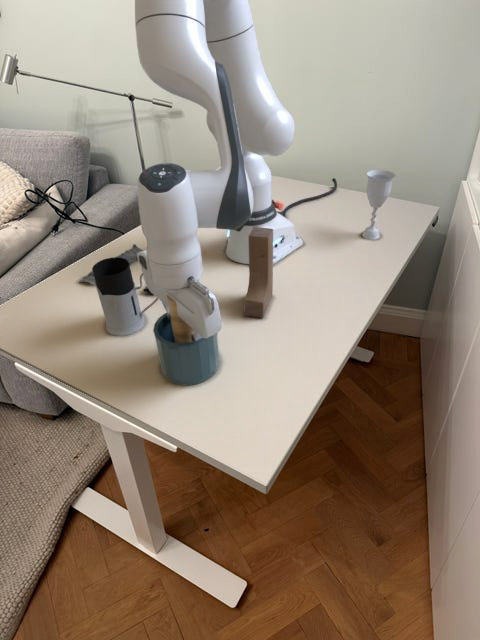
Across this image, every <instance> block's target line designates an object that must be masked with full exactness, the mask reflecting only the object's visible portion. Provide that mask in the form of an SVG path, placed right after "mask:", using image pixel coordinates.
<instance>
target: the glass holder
mask: <svg viewBox="0 0 480 640" xmlns="http://www.w3.org/2000/svg"><path fill="white" fill-rule="evenodd" d="M91 271H93V274H94V278H95V284H94V285H95V288H96V292H97V295H98V298H99V302H100V305H101V309H102V311H103V315H104V319H105V330H106V331H107V333H108V334H111V335H112V336H115V337H124V336H125V337H126V336H130V335H133V334H135V333H137V332H139V331H140V330H141V329H142V328H143V327H144V325H145V323H146V319H145V317H144V315H143V314H144V313H145V312H146V311H148V310H149V309H150V308H151V307H152V306H154V305H155V304H156V303H157V302H158V301H159V299H158V298H157V297H155V299H154V300H153V301H152V302H151V303H150V304H148V305H147V306H146V307H145V308H144V309H143V310H141V306H140V301H139V297H138V292H137V290H141V289H142V287H143V277H144V276H143V272H142V273H141V274H140V276H139V286H136V283H135V281H134V278H133V273H132V269H131V264H130V263H129V262H128V260H126V259H124V258H119V257H117V256H113V257H108V258H104V259H101V260H99V261H98V262H96V263H95V264H94V265H93V266H92V269H91Z"/></svg>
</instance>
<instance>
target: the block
mask: <svg viewBox="0 0 480 640" xmlns="http://www.w3.org/2000/svg"><path fill="white" fill-rule="evenodd" d="M143 292H144V293H147V294H149V295H153V294H152V293H151V292H150V291H149V289H148V287H147V285H146V286H145V287H144V288H143Z"/></svg>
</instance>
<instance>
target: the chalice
mask: <svg viewBox="0 0 480 640" xmlns="http://www.w3.org/2000/svg"><path fill="white" fill-rule="evenodd" d="M366 176H367V178H368V179H367V184H366V196H367V200H368V203H369V205H370V208H372V209H373V210H372V212H371V218H370V219H369V220H370V225H369V226H366V228H365V229H364V230H363V233H361V236H362V238H364V239H367V240H374V241H375V240H378V239H380V237H381V234H380V231H379V228H378V227H376V225H375V224H376V222H377V221H378V220H377V216H378V209H380V208H381V207H382V206H383V205H384V203H385V202H386V201H387V199H388V197H389V196H390V194H391V190H392V184H393V180H394V178H395V177H396V174H395V173H394V172H392V171H391V170H390V171H389V170H384V169H372V170H369V171H368V172H367V173H366Z"/></svg>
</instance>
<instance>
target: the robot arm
mask: <svg viewBox="0 0 480 640" xmlns="http://www.w3.org/2000/svg"><path fill="white" fill-rule="evenodd" d="M134 24H135V25H134V26H135V27H134V28H135V41H136V50H137V56H138V61H139V64H140V66H141V68H142V70H143V72H144V73H145V75H146V76H147V77H148V79H150V81H152V83H154V84H155V85H156V86H158V87H159V88H161V89H162V90H164V91H166V92H168V93H169V94H172V95H174V96H177V97H179V98H182V99H184V100H188V101H190V102H192V103H195V104H197V105H198V106H200V107H202V108H203V109H205V110H206V116H205V117H206V125H207V128H208V130H209V132H210V133H211V134H212V136H213V138H214V139H215V141H216V144H217V149H218V154H219V160H220V166H219V167H217V168H216V169H193V170H190V169H189V170H188V169H186V168H184V167H183V166H181V165H180V164H176V163H171V162H165V163H163V162H162V163H156V164H153V165H151V166H148V167H147V168H145V169H144V170H143V171H142V172H140V174H139V176H138V177H137V205H138V214H139V221H140V226H141V231H142V234H143V236H144V237H145V240H146V248H145V249H142V250H143V251H141V252H139V253H137V258H136V259H137V261H138V264H139V265H140V267H141V272H142V273H143V276H142V277H143V279H144V282H145V285H146V286H147V287H148V289H149V291H150V292H151V293H152V294H151V295H154V296H155V298H158V301H161V303H162V306H163V308H164V310H165V313H167V316H168V319H170V320H171V318H170V313H169V307H168V301H167V295H168V296H169V297H170V298H172V299H173V300H174V301H175V302H176V306H177V313H178V316H179V317H180V318H181V319H182V320H183V321H184V322H186V323H187V324H188V325H189V326H190V327H191V328H192V329H193V330H194V332H193V333H191V337H192V338H191V339H192V340H193V341H197V340H199V339H201V338H208V337H210V336H212V335H214V334H216V333H217V334H218V333H219V332H220V331H221V330H222V329H223V323H222V317H221V311H220V306H219V302H218V300H217V297H216V295H215V294H214V293H213V292H212V291H211V290H210V289H209V288H208V287H207V286H206V285H203V284H202V283H201V282H200V281H201V279H202V277H203V275H204V268H203V258H202V248H201V243H200V242H199V239H198V229H217V230H228V231H227V234H226V238H228V240H227V245H226V249H225V254H226V256H227V257H228V258H229V259H230V260H231V261H234V262H236V263H239V264H243V265H244V264H245V265H249V239H248V236H249V234H250V233H251V231H252V229H253V228H254V227H260V228H270V229H273V265H275V264H276V263H278V262H280V261H281V260H282V259H284V258H285V257H287V256H288V255H290V254H291V253H293V252H294V251H296V250H297V249H299V248H300V247H301V246H303V245H304V241H303V239H302V237H301V236H300V235H298V234H297V233H296V231H295V226H294V224H293V223H292V221H291V220H290V219H288V218H287V217H286V215H287V212H288V211H289V210H290V209H292V208H293V207H295V206H298V205H300V204H302V203H305V202H310V201H314V200H318V199H321V198H324V197H327V196H329V195H331V194H333V193H334V192H336V190H337V189H338V182H337V179H336V178H335V177H332V179H331V182H332V183H333V188H332V189H331V190H329V191H326V192H324V193H320V194H317V195H313V196H311V197H307V198H303V199H300V200H297V201H295V202H292V203H291V204H289V205H287V206H286V207H285V204H284V202H282V201H279V200H276V201H275V199H272V197H273V195H272V193H273V192H272V191H273V190H272V188H273V186H272V185H273V182H272V181H273V176H272V172H271V169H270V167H269V166H268V165H267V163H266V161H265V158H264V157H278V156H281V155H283V154H284V153H285V152H286V151H287V150H288V149H289V148H290V147H291V145H292V143H293V141H294V138H295V133H296V125H295V120H294V118H293V116H292V114H291V113H290V112H289V111H288V110H287V109H286V108H285V107H284V106H283V104H282V103H281V101H280V100H279V98H278V97H277V94H276V93H275V91H274V88H273V87H272V84H271V82H270V80H269V78H268V75H267V73H266V70H265V68H264V65H263V62H262V61H263V60H262V58H261V53H260V48H259V43H258V38H257V33H256V29H255V24H254V18H253V14H252V9H251V6H250V1H249V0H134ZM278 210H279V211H278ZM282 210H283V211H282Z"/></svg>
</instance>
